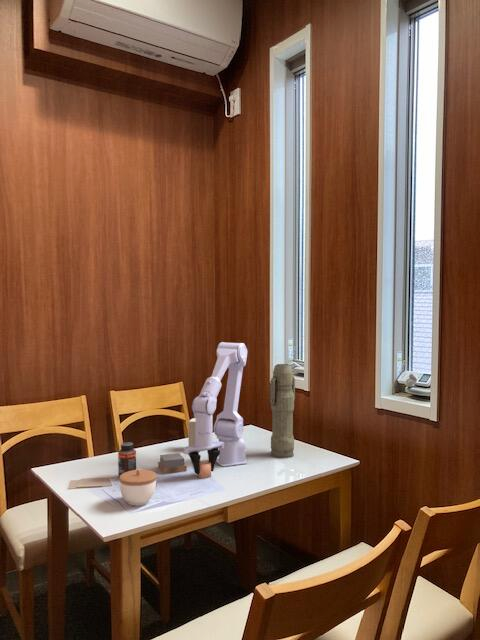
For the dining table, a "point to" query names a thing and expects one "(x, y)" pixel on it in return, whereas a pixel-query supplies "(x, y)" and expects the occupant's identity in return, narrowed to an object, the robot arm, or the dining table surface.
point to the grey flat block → (171, 460)
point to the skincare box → (192, 431)
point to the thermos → (282, 411)
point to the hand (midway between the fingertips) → (204, 471)
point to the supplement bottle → (126, 458)
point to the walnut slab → (172, 469)
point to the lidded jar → (138, 486)
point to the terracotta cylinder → (204, 469)
